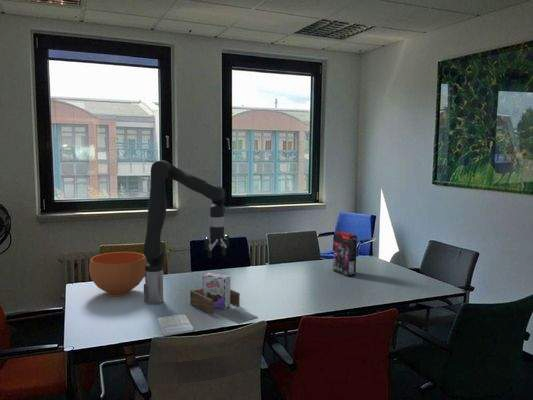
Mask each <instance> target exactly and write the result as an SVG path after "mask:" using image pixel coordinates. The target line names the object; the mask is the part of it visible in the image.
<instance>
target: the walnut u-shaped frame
mask: <svg viewBox="0 0 533 400" xmlns="http://www.w3.org/2000/svg"><path fill="white" fill-rule="evenodd" d="M189 294H190V302H189V304H190V305H192V306H193V307H195V308H198V309H200V310H202V311H203V312H206V313H208V314H210V315H211V314H213V307H212V299H210V298H207V297H205V296H203V287H201V288H197V289H193V290H190V293H189ZM240 296H241V295H240V292H238V291H236V290H234V289H231V288H230V305H231V304H232V305H233V306H236V307H240V306H241V304H240V300H241V299H240Z"/></svg>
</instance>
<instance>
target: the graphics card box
mask: <svg viewBox="0 0 533 400" xmlns="http://www.w3.org/2000/svg"><path fill="white" fill-rule="evenodd" d="M333 238H334V239H333V242H334V243H333V266H332V267H333V268H332V271H333V272H336V273H338V274H341V275H343V276H345V277H353V276H356V271H357V267H356V266H357V249H358V248H357V246H358V245H357V244H358V235H357V234H353V233H349V232H345V231H335V232H334V237H333Z"/></svg>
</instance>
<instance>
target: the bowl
mask: <svg viewBox="0 0 533 400" xmlns="http://www.w3.org/2000/svg"><path fill="white" fill-rule="evenodd" d="M146 261H147V257H146V256H145V255H144V253H140V252H139V253H138V252H135V251H115V252H107V253H102V254H97V255H95V256H92V257H91V258H90V259H89V263H88V264H89V266H88V270H89V273H88V274H89V276H90V278H91V281H92V282H93V283H94V284H95V286H96V287H97V288H98V289H100V290H102V291H103V292H105V293H107V294H108V296H109V297H115V298H116V297H117V298H118V297H123V296H127V295H129V294H130V292H131V291H132V290H133V289H135V288H136V287H138V286H139V285H140V284H141V282H142V281H143V279H145V265H146Z"/></svg>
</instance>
